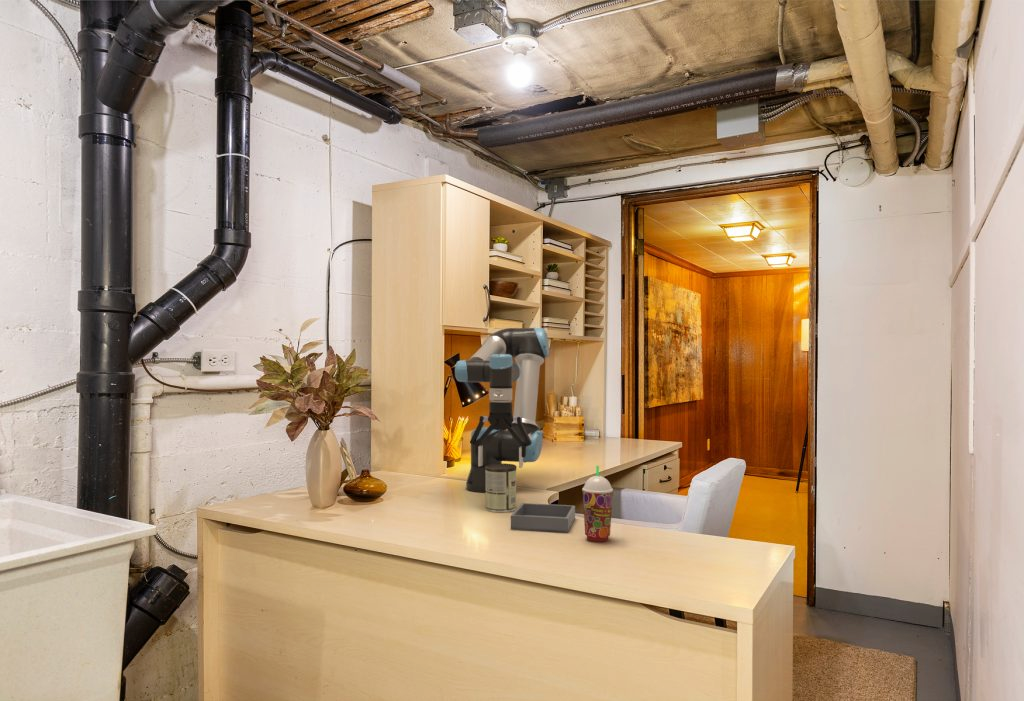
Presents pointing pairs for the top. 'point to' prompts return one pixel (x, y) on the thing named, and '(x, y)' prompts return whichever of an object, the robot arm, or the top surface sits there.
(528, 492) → the top surface
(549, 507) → the bin
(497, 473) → the coffee can
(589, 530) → the smoothie
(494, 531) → the top surface
